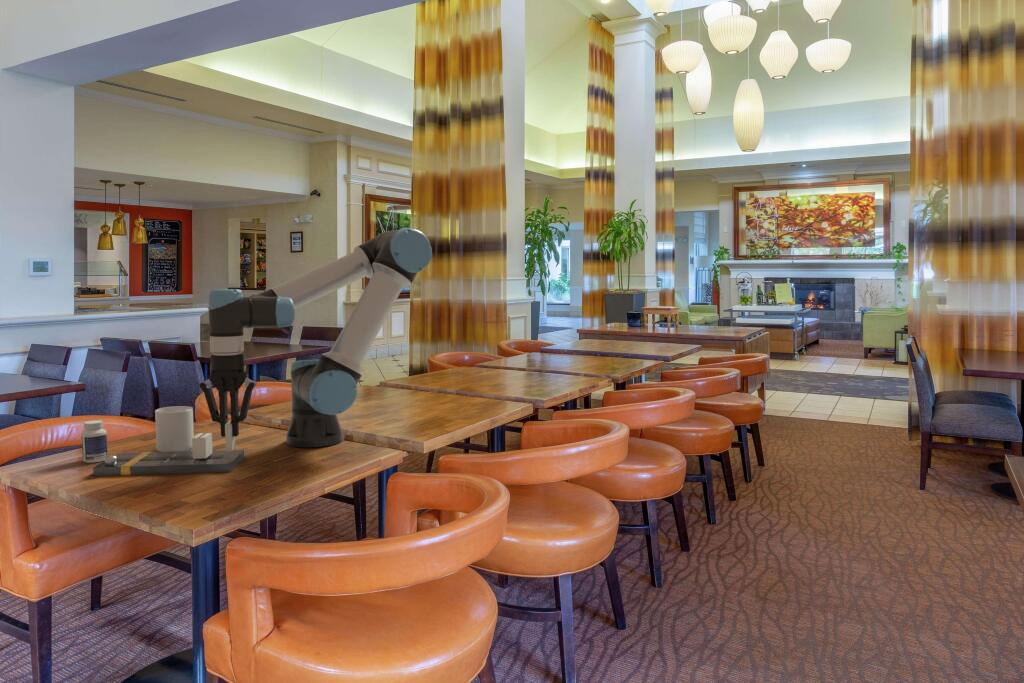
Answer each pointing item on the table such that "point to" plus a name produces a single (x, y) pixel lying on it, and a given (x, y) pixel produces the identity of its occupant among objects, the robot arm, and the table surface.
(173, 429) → the mug
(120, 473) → the console board
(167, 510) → the table surface
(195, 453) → the fader tab
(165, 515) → the table surface
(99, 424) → the pill bottle
